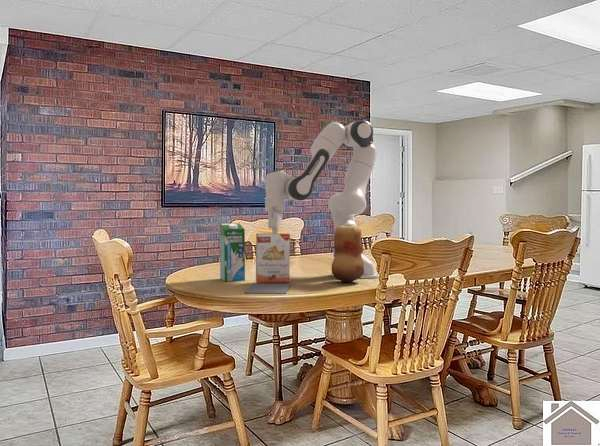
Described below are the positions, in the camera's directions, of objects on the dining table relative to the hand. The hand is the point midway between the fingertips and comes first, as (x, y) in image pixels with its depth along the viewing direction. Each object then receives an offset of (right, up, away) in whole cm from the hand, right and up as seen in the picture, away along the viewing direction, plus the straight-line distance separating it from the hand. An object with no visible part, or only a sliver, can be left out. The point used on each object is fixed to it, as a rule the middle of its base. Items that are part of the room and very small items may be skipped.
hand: (275, 237), depth 221 cm
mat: (-1, -20, -23) cm, 30 cm away
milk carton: (-19, -19, 0) cm, 27 cm away
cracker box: (0, -19, -9) cm, 21 cm away
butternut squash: (+32, -19, -8) cm, 38 cm away
